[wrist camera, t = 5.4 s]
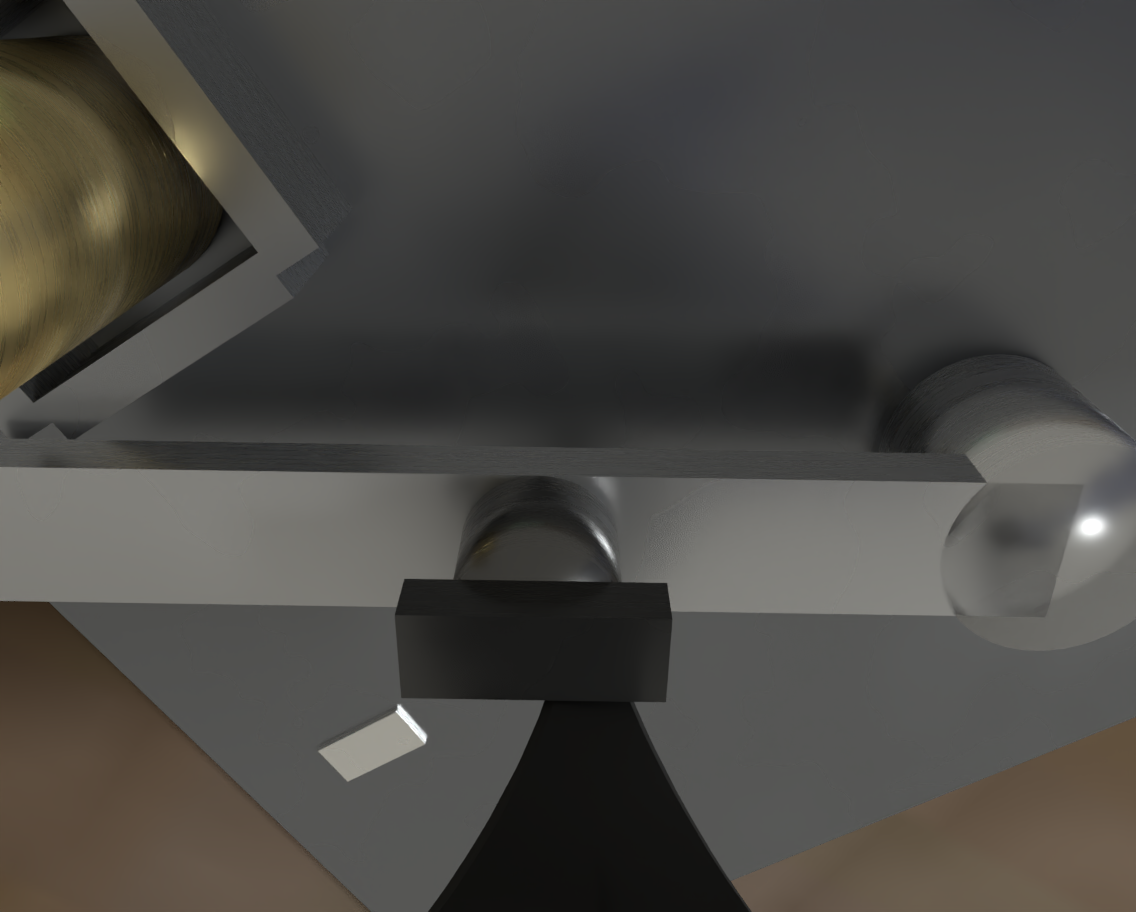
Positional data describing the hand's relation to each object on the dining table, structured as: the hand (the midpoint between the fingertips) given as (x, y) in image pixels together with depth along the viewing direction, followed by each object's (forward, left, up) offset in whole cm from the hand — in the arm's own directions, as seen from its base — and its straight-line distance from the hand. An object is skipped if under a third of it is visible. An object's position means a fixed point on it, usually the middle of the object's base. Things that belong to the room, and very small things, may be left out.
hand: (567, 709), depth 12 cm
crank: (-1, -2, -3) cm, 4 cm away
